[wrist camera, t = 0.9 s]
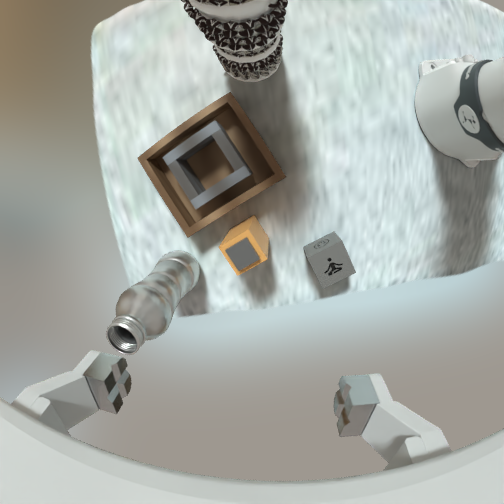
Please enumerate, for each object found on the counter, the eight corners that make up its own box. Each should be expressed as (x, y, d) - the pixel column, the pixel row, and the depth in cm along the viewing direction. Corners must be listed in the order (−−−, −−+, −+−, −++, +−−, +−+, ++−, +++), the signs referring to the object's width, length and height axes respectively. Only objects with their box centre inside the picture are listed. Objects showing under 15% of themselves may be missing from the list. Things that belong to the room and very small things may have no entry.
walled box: (234, 98, 34) (228, 89, 29) (284, 175, 37) (286, 177, 32) (149, 158, 38) (132, 158, 33) (195, 230, 41) (184, 240, 36)
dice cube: (317, 275, 41) (322, 289, 37) (303, 246, 40) (307, 258, 36) (347, 260, 40) (355, 272, 36) (333, 231, 39) (341, 240, 34)
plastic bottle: (209, 279, 43) (165, 362, 24) (172, 290, 44) (114, 368, 25) (193, 240, 41) (132, 303, 22) (155, 254, 42) (83, 317, 23)
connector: (254, 214, 39) (248, 230, 30) (268, 238, 40) (267, 261, 31) (230, 229, 40) (217, 248, 31) (245, 252, 41) (237, 277, 32)
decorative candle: (258, 21, 30) (240, -97, 6) (297, 63, 32) (323, -50, 8) (207, 52, 32) (133, -47, 9) (243, 96, 34) (197, 4, 10)
